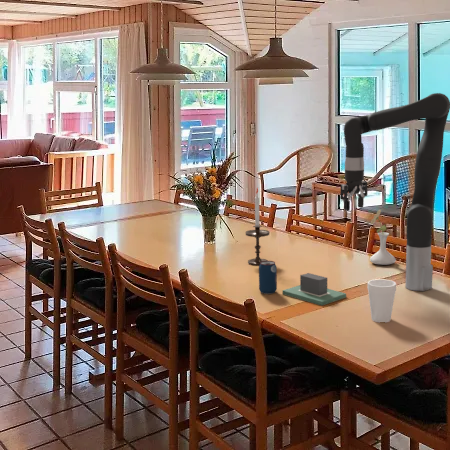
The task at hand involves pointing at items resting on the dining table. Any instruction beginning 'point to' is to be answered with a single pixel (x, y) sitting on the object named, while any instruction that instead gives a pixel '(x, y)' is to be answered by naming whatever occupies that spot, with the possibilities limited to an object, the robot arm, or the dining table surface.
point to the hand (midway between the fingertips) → (353, 208)
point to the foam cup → (381, 299)
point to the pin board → (313, 298)
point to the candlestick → (257, 234)
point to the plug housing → (313, 284)
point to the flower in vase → (382, 246)
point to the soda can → (267, 277)
